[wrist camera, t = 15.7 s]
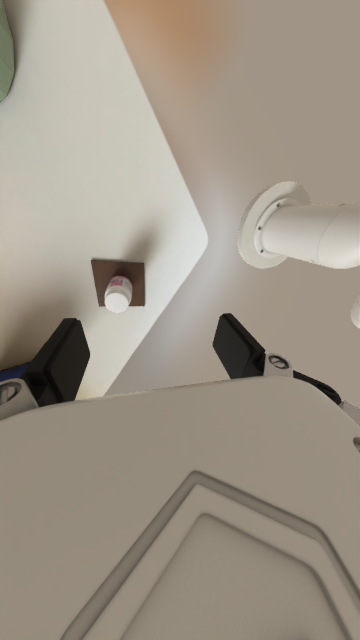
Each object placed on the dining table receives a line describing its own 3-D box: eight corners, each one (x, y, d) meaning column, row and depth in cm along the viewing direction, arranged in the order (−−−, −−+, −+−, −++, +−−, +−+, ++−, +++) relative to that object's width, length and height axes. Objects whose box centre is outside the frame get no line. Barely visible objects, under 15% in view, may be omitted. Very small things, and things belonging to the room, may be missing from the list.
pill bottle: (122, 270, 33) (119, 285, 26) (136, 288, 35) (136, 306, 29) (103, 282, 33) (95, 300, 26) (119, 299, 36) (115, 319, 29)
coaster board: (143, 263, 33) (143, 263, 33) (144, 305, 39) (144, 306, 38) (91, 260, 31) (90, 260, 30) (99, 305, 36) (99, 306, 36)
